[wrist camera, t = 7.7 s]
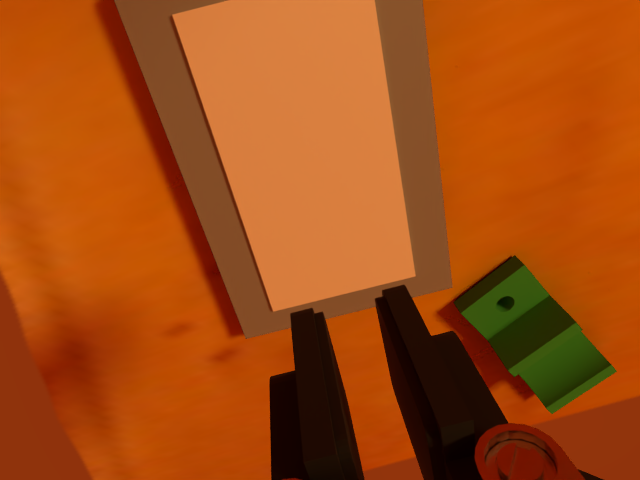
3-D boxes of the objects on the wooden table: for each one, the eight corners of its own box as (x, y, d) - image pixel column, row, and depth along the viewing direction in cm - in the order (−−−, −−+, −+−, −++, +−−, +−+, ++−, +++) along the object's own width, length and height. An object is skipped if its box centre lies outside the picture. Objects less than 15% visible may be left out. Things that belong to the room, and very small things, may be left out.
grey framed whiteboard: (116, -15, 19) (106, -16, 18) (404, -89, 19) (414, -95, 18) (246, 325, 28) (245, 341, 26) (445, 276, 27) (453, 289, 26)
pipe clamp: (639, 395, 28) (574, 436, 29) (599, 353, 32) (542, 392, 33) (549, 290, 24) (476, 343, 25) (514, 254, 27) (451, 303, 28)
